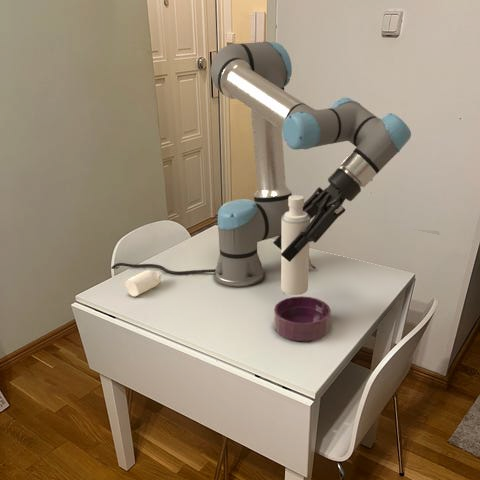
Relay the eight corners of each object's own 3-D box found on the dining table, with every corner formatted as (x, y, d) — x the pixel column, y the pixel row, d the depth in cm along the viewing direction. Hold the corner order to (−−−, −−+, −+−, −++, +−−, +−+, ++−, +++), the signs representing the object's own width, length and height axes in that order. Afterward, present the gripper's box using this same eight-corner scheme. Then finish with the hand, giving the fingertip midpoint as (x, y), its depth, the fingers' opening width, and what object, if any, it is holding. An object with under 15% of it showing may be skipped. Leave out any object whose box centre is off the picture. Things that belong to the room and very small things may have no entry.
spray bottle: (298, 297, 119) (300, 196, 106) (276, 290, 123) (275, 191, 110) (313, 287, 123) (317, 188, 110) (290, 280, 127) (292, 184, 114)
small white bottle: (168, 284, 152) (166, 267, 150) (139, 298, 145) (136, 281, 142) (155, 279, 156) (153, 262, 153) (126, 293, 148) (123, 276, 145)
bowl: (269, 339, 123) (269, 321, 121) (279, 312, 135) (279, 294, 132) (326, 345, 120) (327, 326, 117) (331, 316, 132) (332, 298, 129)
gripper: (379, 200, 104) (303, 278, 110) (345, 177, 121) (281, 246, 127) (357, 177, 101) (281, 259, 107) (325, 157, 118) (260, 228, 124)
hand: (281, 251), depth 117 cm, fingers closed on spray bottle, 7 cm apart
